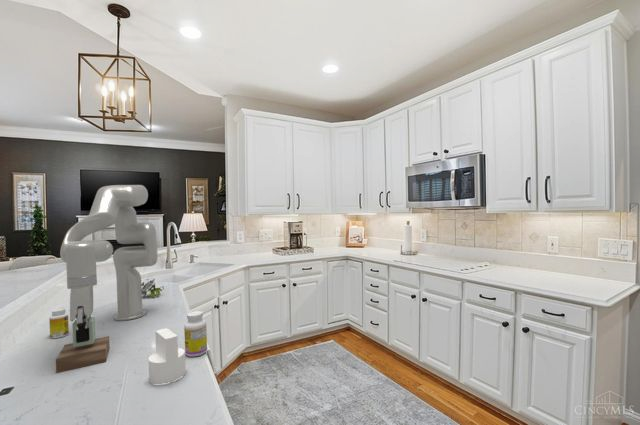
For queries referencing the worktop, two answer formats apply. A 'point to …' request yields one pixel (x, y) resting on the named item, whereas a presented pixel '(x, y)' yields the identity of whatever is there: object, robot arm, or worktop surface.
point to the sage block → (91, 333)
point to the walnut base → (82, 355)
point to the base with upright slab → (166, 358)
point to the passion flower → (149, 286)
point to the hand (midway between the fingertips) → (84, 337)
